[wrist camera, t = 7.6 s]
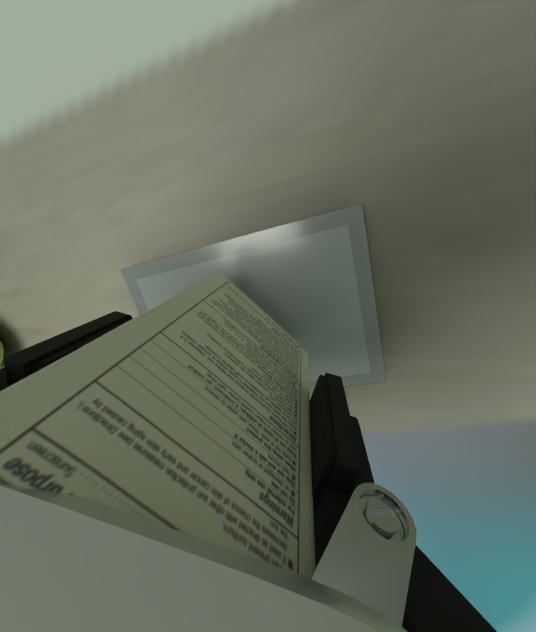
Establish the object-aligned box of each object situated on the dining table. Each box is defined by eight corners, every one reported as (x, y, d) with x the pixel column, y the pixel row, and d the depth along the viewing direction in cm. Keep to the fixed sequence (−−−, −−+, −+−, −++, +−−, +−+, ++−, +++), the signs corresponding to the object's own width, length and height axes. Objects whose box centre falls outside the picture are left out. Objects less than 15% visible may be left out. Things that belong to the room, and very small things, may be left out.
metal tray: (358, 205, 13) (362, 202, 12) (381, 372, 16) (386, 382, 15) (131, 267, 16) (119, 269, 15) (184, 398, 19) (177, 407, 18)
